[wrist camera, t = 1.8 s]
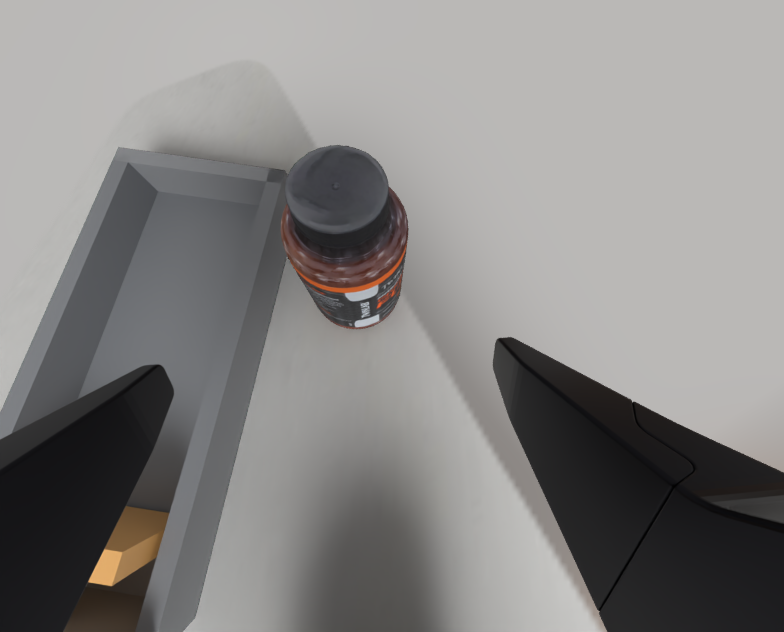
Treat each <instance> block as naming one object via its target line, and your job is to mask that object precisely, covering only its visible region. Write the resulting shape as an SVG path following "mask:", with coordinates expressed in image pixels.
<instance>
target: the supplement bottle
mask: <svg viewBox="0 0 784 632" xmlns="http://www.w3.org/2000/svg"><path fill="white" fill-rule="evenodd" d="M285 198H286V202H287V204H286V206H285V209H284V211H283V214H282V219H281V238H282V242H283V246H284V249H285V251H286V254H287V256H288V258H289V260H290V262H291V264H292V265H293V267H294V269H295V270H296V272H297V274H298V275H299V277H300V279H301V280H302V282H303V283H304V285H305V287H306V288H307V290H308V292H309V293H310V295H311V297H312V298H313V300H314V302H315V303H316V305H317V307H318V308H319V310H320V311H321V312H322V313H323V314H324V316H325V317H326V318H328V319H329V320H330V321H331V322H333V323H335V324H337V325H339V326H341V327H344V328H349V329H363V328H368V327H371V326H374V325H376V324H378V323H380V322H381V321H383V320H384V319H385V318H386V317H387V316H388V315H389V314H390V313H391V312H392V310H393V309H394V307H395V305H396V303H397V301H398V299H399V296H400V291H401V282H402V275H403V267H404V262H405V255H406V247H407V239H408V220H407V215H406V212H405V209H404V206H403V205H402V203H401V201H400V199H399V198H398V197H397V195H396V194H395V192H394V191H393V190H392V189H391V188H390V187H389V186H388V180H387V177H386V174H385V172H384V170H383V169H382V167H381V166H380V164H379V163H378V162H377V161H376V160H375V159H374V158H373V157H372V156H371V155H369V154H368V153H366V152H364V151H361V150H359V149H356V148H353V147H349V146H340V145H335V146H328V147H323V148H319V149H316V150H314V151H312V152H309V153H308V154H306V155H305V156H304V157H302V158H301V159H300V160H299V161H298V162H297V163H295V164H294V166H293V167H292V169H291V170H290V172H289V174H288V176H287V179H286V185H285Z"/></svg>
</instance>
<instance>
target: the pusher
mask: <svg viewBox="0 0 784 632" xmlns="http://www.w3.org/2000/svg"><path fill="white" fill-rule="evenodd" d="M168 517H169V513H166V512H160V511H154V510H147V509H141V508H135V507H129V506H126V507H125V509H124V511H123V513H122V515H121V517H120V519H119V521H118V523H117V525H116V527H115V529H114V531H113V533H112V535H111V537H110V539H109V541H108V543H107V545H106V547H105V549H104V551H103V553H102V555H101V557H100V559H99V561H98V563H97V565H96V567H95V569H94V571H93V573H92V575H91V577H90V579H89V581H88V582H90V583H96V584H102V585H108V586H113V585H114V584H116V583H118V582H119V581H121V580H122V579H124V578H125V577H127V576H128V575H130V574H131V573H133V572H135V571H136V570H138V569H139V568H141V567H142V566H144V565H145V564H147V563H148V562H150V561H152V560H153V559H155V558H156V557H157V555H158V551H159V548H160V544H161V541H162V537H163V534H164V531H165V527H166V524H167V520H168Z"/></svg>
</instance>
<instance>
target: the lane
mask: <svg viewBox="0 0 784 632" xmlns="http://www.w3.org/2000/svg"><path fill="white" fill-rule="evenodd" d="M286 179H287V174H286V171H285V170H278V169H271V168H264V167H257V166H250V165H242V164H235V163H228V162H221V161H214V160H207V159H199V158H192V157H185V156H178V155H171V154H163V153H156V152H149V151H142V150H135V149H128V148H120V147H118V149H117V151H116V154H115V156H114V158H113V160H112V163H111V165H110V167H109V169H108V172H107V174H106V176H105V178H104V181H103V183H102V185H101V187H100V190H99V192H98V194H97V196H96V199H95V201H94V203H93V205H92V208H91V210H90V212H89V214H88V217H87V219H86V221H85V223H84V226H83V228H82V230H81V232H80V235H79V237H78V239H77V241H76V244H75V246H74V248H73V250H72V253H71V255H70V257H69V259H68V262H67V264H66V266H65V268H64V271H63V273H62V275H61V277H60V280H59V282H58V284H57V286H56V289H55V291H54V293H53V295H52V298H51V300H50V302H49V304H48V307H47V309H46V311H45V313H44V315H43V318H42V320H41V322H40V324H39V327H38V329H37V331H36V333H35V336H34V338H33V340H32V342H31V345H30V347H29V349H28V351H27V354H26V356H25V358H24V360H23V363H22V365H21V367H20V369H19V372H18V374H17V376H16V378H15V381H14V383H13V385H12V387H11V390H10V392H9V394H8V396H7V399H6V401H5V403H4V405H3V408H2V410H1V412H0V439H2V438H4V437H6V436H8V435H10V434H11V433H13V432H15V431H17V430H19V429H21V428H23V427H25V426H27V425H29V424H31V423H33V422H35V421H37V420H38V419H40V418H42V417H44V416H46V415H48V414H50V413H52V412H54V411H56V410H58V409H60V408H62V407H64V406H66V405H67V404H69V403H71V402H73V401H75V400H77V399H79V398H81V397H83V396H85V395H87V394H89V393H91V392H93V391H94V390H96V389H98V388H100V387H102V386H104V385H106V384H108V383H110V382H112V381H114V380H116V379H118V378H120V377H122V376H123V375H125V374H127V373H129V372H131V371H133V370H135V369H137V368H139V367H141V366H144V365H154V364H159V365H162V366H163V367H164V369H165V371H166V373H167V375H168V377H169V379H170V381H171V383H172V385H173V388H174V397H173V400H172V402H171V405H170V408H169V411H168V413H167V416H166V419H165V421H164V424H163V427H162V429H161V432H160V435H159V437H158V440H157V442H156V445H155V447H154V450H153V452H152V454H151V456H150V458H149V460H148V462H147V464H146V466H145V468H144V470H143V472H142V474H141V476H140V478H139V480H138V483H137V485H136V487H135V489H134V491H133V493H132V495H131V497H130V499H129V501H128V503H127V505H126V506H129V507H135V508H141V509H147V510H154V511H160V512H166V513H169V517H168V520H167V524H166V527H165V531H164V534H163V537H162V541H161V544H160V548H159V551H158V555H157V557H156V558H155V559H153V560H152V561H150V562H148V563H147V564H145V565H144V566H142V567H141V568H139V569H138V570H136V571H135V572H133V573H131V574H130V575H128V576H127V577H125V578H124V579H122V580H121V581H119V582H118V583H116V584H114V585H113V586H108V585H102V584H96V583H90V582H88V583H87V585H86V587H85V589H84V591H83V593H82V595H81V597H80V599H79V601H78V603H77V605H76V607H75V609H74V611H73V613H72V615H71V617H70V619H69V621H68V623H67V626H66V628H65V630H64V632H183V631H184V629H185V628H186V627H187V626H188V625H189V624H190V623H191V622H192V621H193V620H194V619H195V616H196V612H197V608H198V604H199V600H200V596H201V592H202V588H203V584H204V580H205V576H206V572H207V568H208V564H209V560H210V556H211V552H212V549H213V545H214V541H215V537H216V533H217V529H218V525H219V521H220V517H221V513H222V509H223V505H224V501H225V497H226V493H227V489H228V485H229V481H230V477H231V474H232V470H233V466H234V462H235V458H236V454H237V450H238V446H239V442H240V438H241V434H242V430H243V426H244V422H245V418H246V414H247V410H248V406H249V402H250V399H251V395H252V391H253V387H254V383H255V379H256V375H257V371H258V367H259V363H260V359H261V355H262V351H263V347H264V343H265V339H266V335H267V331H268V327H269V323H270V320H271V316H272V312H273V308H274V304H275V300H276V296H277V292H278V288H279V284H280V280H281V276H282V272H283V268H284V264H285V260H286V256H287V254H286V251H285V249H284V246H283V242H282V238H281V219H282V214H283V211H284V209H285V206H286V204H287V202H286V198H285V185H286Z"/></svg>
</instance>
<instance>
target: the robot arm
mask: <svg viewBox="0 0 784 632" xmlns="http://www.w3.org/2000/svg"><path fill="white" fill-rule="evenodd" d="M493 370H494V373H495V376H496V379H497V382H498V385H499V389H500V392H501V395H502V398H503V401H504V404H505V407H506V410H507V413H508V416H509V418H510V421H511V423H512V425H513V428H514V430H515V432H516V434H517V436H518V439H519V441H520V443H521V445H522V447H523V449H524V451H525V454H526V456H527V458H528V460H529V462H530V464H531V467H532V469H533V471H534V473H535V475H536V478H537V480H538V482H539V484H540V486H541V488H542V490H543V493H544V495H545V497H546V499H547V501H548V504H549V506H550V508H551V510H552V512H553V514H554V517H555V519H556V521H557V523H558V525H559V527H560V530H561V532H562V534H563V536H564V538H565V540H566V543H567V545H568V547H569V549H570V551H571V553H572V556H573V558H574V560H575V562H576V564H577V566H578V569H579V571H580V573H581V575H582V577H583V579H584V582H585V584H586V586H587V588H588V590H589V593H590V595H591V597H592V599H593V601H594V603H595V606H596V608H597V610H599V611H600V612H599V615H600V617H601V619H602V621H603V623H604V626H605V628H606V630H607V632H784V473H783V472H781V471H779V470H777V469H775V468H772V467H770V466H768V465H766V464H764V463H762V462H759V461H757V460H755V459H753V458H751V457H749V456H746V455H744V454H742V453H740V452H738V451H735V450H733V449H731V448H729V447H727V446H724V445H722V444H720V443H718V442H716V441H714V440H711V439H709V438H707V437H705V436H703V435H701V434H699V433H696V432H694V431H692V430H690V429H688V428H686V427H684V426H681V425H679V424H677V423H675V422H673V421H671V420H669V419H667V418H665V417H663V416H661V415H659V414H658V413H656V412H654V411H651V410H650V409H648V408H646V407H644V406H642V405H640V404H638V403H636V402H633V403H632V400H631V399H628V398H627V397H625V396H623V395H621V394H619V393H617V392H615V391H613V390H612V389H610V388H608V387H605V386H604V385H602V384H600V383H598V382H596V381H594V380H592V379H591V378H589V377H587V376H585V375H583V374H581V373H579V372H577V371H575V370H573V369H571V368H570V367H568V366H566V365H564V364H562V363H560V362H558V361H556V360H554V359H553V358H551V357H549V356H547V355H545V354H543V353H541V352H539V351H537V350H535V349H533V348H532V347H530V346H528V345H526V344H524V343H522V342H520V341H518V340H516V339H514V338H512V337H508V338H499V339H497V341H496V343H495V350H494V358H493ZM173 397H174V388H173V385H172V383H171V381H170V379H169V377H168V375H167V373H166V371H165V369H164V367H163V366H162V365H159V364H154V365H144V366H141V367H139V368H137V369H135V370H133V371H131V372H129V373H127V374H125V375H123V376H122V377H120V378H118V379H116V380H114V381H112V382H110V383H108V384H106V385H104V386H102V387H100V388H98V389H96V390H94V391H93V392H91V393H89V394H87V395H85V396H83V397H81V398H79V399H77V400H75V401H73V402H71V403H69V404H67V405H66V406H64V407H62V408H60V409H58V410H56V411H54V412H52V413H50V414H48V415H46V416H44V417H42V418H40V419H38V420H37V421H35V422H33V423H31V424H29V425H27V426H25V427H23V428H21V429H19V430H17V431H15V432H13V433H11V434H10V435H8V436H6V437H4V438H2V439H0V632H64V630H65V628H66V626H67V623H68V621H69V619H70V617H71V615H72V613H73V611H74V609H75V607H76V605H77V603H78V601H79V599H80V597H81V595H82V593H83V591H84V589H85V587H86V585H87V583H88V581H89V579H90V577H91V575H92V573H93V571H94V569H95V567H96V565H97V563H98V561H99V559H100V557H101V555H102V553H103V551H104V549H105V547H106V545H107V543H108V541H109V539H110V537H111V535H112V533H113V531H114V529H115V527H116V525H117V523H118V521H119V519H120V517H121V515H122V513H123V511H124V509H125V507H126V505H127V503H128V501H129V499H130V497H131V495H132V493H133V491H134V489H135V487H136V485H137V483H138V480H139V478H140V476H141V474H142V472H143V470H144V468H145V466H146V464H147V462H148V460H149V458H150V456H151V454H152V452H153V450H154V447H155V445H156V442H157V440H158V437H159V435H160V432H161V429H162V427H163V424H164V421H165V419H166V416H167V413H168V411H169V408H170V405H171V402H172V400H173Z"/></svg>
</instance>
